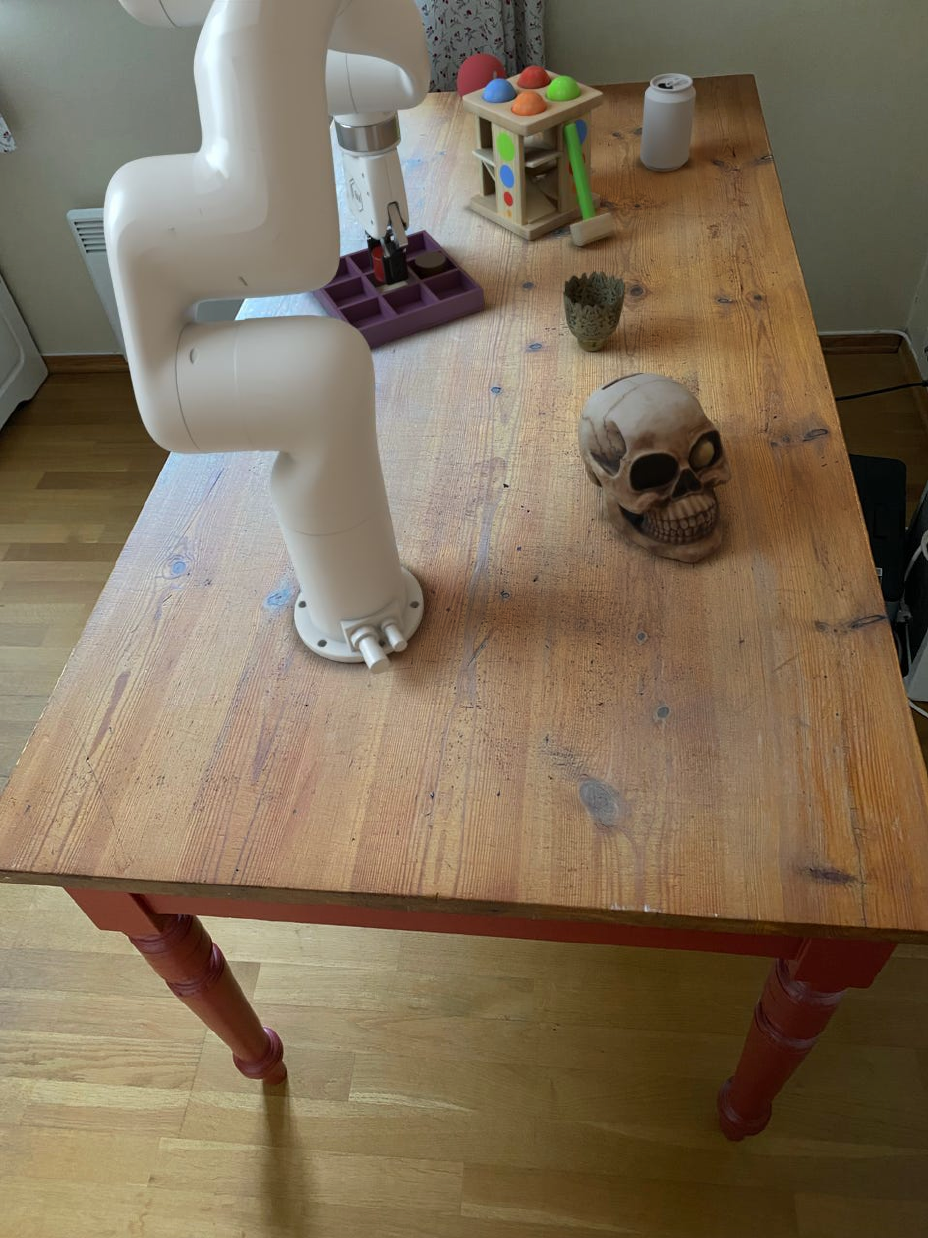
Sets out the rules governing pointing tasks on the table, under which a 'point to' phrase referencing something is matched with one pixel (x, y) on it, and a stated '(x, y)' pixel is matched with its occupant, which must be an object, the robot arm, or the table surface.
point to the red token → (378, 263)
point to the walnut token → (430, 264)
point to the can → (667, 122)
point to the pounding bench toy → (537, 155)
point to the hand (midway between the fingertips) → (389, 271)
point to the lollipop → (478, 73)
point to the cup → (593, 308)
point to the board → (399, 295)
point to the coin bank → (655, 464)
